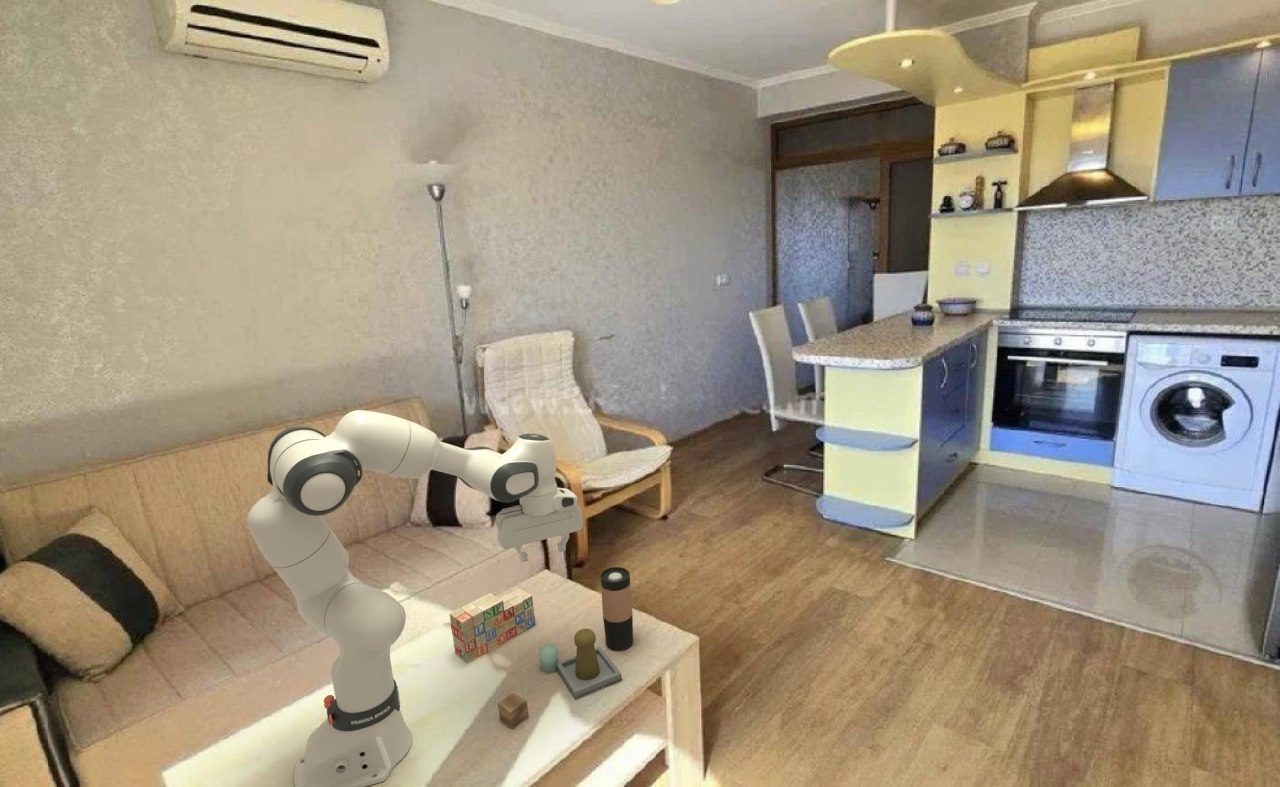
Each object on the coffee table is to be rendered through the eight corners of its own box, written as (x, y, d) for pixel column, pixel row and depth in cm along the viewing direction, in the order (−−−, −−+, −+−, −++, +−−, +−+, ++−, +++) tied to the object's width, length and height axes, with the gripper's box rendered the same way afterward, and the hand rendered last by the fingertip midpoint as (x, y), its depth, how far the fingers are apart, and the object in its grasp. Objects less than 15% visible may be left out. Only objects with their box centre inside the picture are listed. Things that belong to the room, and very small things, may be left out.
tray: (575, 699, 143) (574, 692, 143) (556, 669, 153) (556, 662, 153) (621, 680, 148) (621, 673, 148) (600, 652, 159) (600, 646, 158)
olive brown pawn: (595, 681, 147) (592, 641, 145) (571, 678, 149) (568, 639, 146) (603, 665, 153) (600, 626, 150) (579, 662, 154) (576, 623, 152)
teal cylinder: (546, 675, 152) (544, 657, 150) (538, 666, 155) (536, 648, 154) (561, 667, 154) (560, 650, 153) (553, 658, 158) (551, 641, 156)
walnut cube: (512, 729, 135) (510, 712, 134) (500, 720, 138) (497, 703, 137) (528, 717, 139) (526, 700, 137) (516, 708, 142) (514, 691, 140)
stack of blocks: (522, 616, 176) (518, 578, 173) (535, 625, 172) (531, 585, 169) (454, 654, 162) (448, 612, 158) (467, 664, 157) (461, 622, 154)
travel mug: (599, 642, 163) (593, 574, 158) (621, 629, 168) (617, 563, 163) (617, 656, 157) (612, 586, 152) (640, 642, 162) (636, 574, 157)
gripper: (498, 515, 137) (503, 572, 140) (584, 496, 146) (587, 550, 149) (491, 506, 142) (496, 560, 146) (574, 488, 152) (577, 539, 155)
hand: (543, 555), depth 147 cm, fingers open, 8 cm apart
